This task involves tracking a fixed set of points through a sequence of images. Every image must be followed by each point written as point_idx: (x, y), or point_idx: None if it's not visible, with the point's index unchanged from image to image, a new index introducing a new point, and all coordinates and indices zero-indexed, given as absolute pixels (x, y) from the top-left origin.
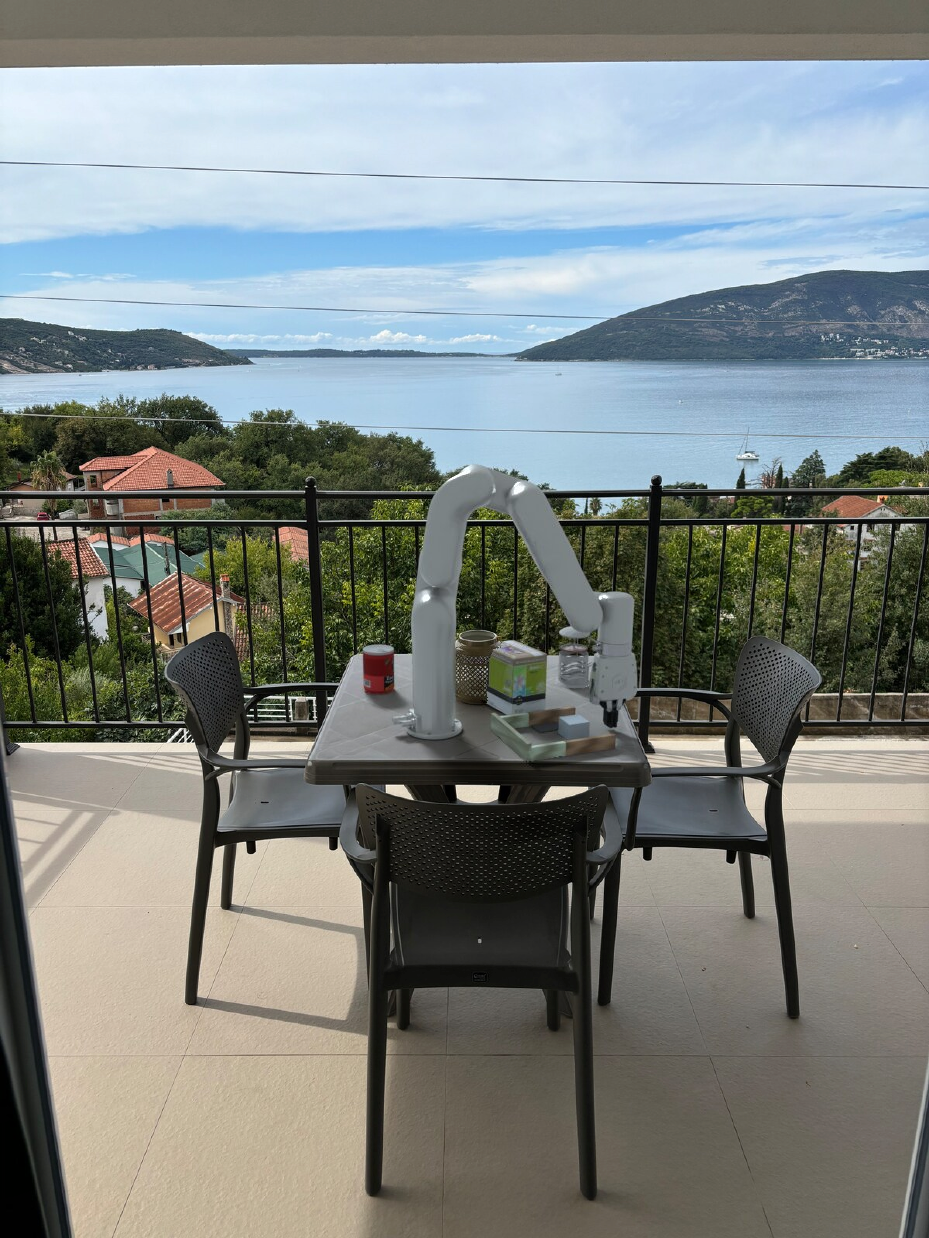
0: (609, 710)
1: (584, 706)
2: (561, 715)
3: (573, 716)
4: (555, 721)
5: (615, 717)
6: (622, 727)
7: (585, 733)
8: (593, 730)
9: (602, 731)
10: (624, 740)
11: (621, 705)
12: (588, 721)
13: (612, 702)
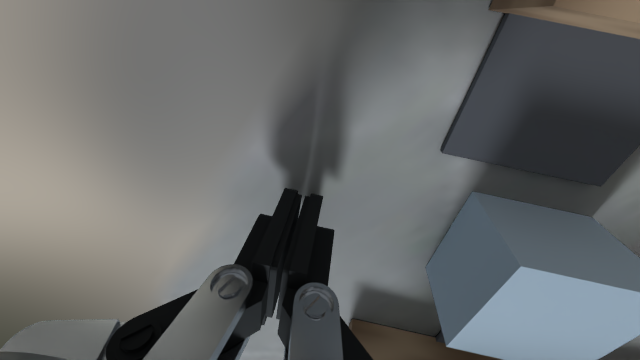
0: (318, 294)
1: (252, 347)
2: (410, 357)
3: (503, 346)
4: (430, 340)
5: (283, 230)
6: (232, 195)
7: (509, 214)
8: (372, 236)
9: (345, 210)
10: (333, 58)
11: (195, 295)
12: (519, 273)
13: (235, 350)
